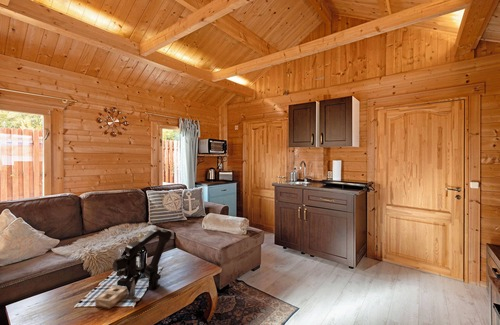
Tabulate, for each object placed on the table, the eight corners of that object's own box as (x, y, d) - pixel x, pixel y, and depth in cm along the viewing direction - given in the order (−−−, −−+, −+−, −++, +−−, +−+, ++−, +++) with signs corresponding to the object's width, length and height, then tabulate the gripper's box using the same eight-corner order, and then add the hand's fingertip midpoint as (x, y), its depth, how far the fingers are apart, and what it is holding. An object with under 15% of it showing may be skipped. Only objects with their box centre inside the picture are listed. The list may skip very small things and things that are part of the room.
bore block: (114, 292, 159) (114, 285, 159) (127, 294, 157) (127, 287, 157) (95, 306, 144) (95, 299, 144) (109, 308, 142) (109, 301, 142)
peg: (131, 293, 156) (131, 278, 155) (136, 294, 155) (136, 278, 155) (126, 297, 152) (126, 281, 151) (132, 297, 151) (132, 282, 151)
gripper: (130, 257, 163) (130, 280, 164) (109, 270, 145) (109, 296, 146) (145, 259, 161) (145, 282, 162) (125, 272, 143) (125, 298, 144)
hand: (131, 289), depth 153 cm, fingers closed on peg, 4 cm apart
